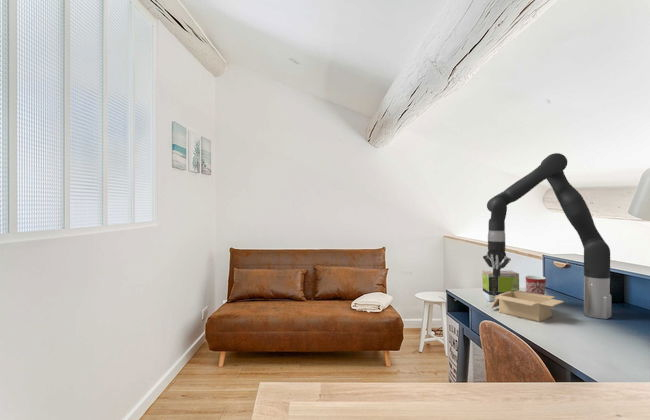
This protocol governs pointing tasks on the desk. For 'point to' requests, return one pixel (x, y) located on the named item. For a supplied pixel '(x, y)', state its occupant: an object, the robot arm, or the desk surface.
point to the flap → (497, 301)
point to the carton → (527, 305)
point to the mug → (535, 284)
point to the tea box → (499, 283)
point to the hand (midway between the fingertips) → (496, 276)
